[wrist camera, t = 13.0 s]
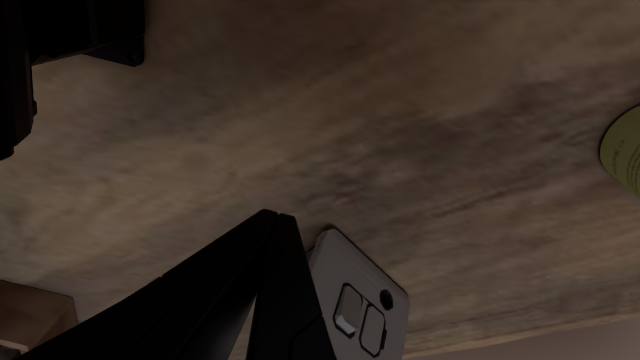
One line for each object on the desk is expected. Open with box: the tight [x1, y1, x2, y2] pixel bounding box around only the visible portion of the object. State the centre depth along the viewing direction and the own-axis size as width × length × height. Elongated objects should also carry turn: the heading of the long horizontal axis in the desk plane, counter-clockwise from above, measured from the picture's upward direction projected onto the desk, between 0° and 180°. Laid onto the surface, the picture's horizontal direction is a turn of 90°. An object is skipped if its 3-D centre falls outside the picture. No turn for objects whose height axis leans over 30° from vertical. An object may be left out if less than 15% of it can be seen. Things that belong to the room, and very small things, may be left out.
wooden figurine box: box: [0, 280, 78, 355], centre depth 34 cm, size 9×15×5 cm, turn 168°
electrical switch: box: [305, 229, 410, 360], centre depth 24 cm, size 9×5×9 cm, turn 44°
